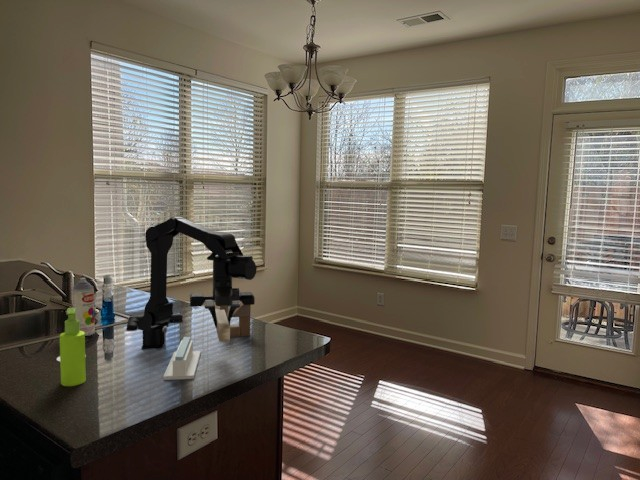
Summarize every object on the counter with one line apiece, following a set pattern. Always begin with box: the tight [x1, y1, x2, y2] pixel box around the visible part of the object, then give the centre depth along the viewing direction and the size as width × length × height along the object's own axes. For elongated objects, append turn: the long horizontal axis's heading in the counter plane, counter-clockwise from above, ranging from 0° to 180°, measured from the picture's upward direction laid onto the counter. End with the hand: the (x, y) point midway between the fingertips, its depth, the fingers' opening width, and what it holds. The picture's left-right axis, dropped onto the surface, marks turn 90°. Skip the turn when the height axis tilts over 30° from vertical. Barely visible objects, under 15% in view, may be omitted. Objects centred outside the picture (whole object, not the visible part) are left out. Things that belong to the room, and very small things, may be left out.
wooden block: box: [219, 301, 252, 338], centre depth 170 cm, size 4×11×18 cm, turn 109°
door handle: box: [126, 313, 183, 332], centre depth 180 cm, size 3×20×16 cm
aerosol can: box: [71, 277, 96, 337], centre depth 166 cm, size 7×7×20 cm
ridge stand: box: [162, 336, 202, 381], centre depth 140 cm, size 8×20×6 cm, turn 9°
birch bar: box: [215, 309, 231, 343], centre depth 143 cm, size 3×20×4 cm, turn 16°
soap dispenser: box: [59, 307, 87, 387], centre depth 125 cm, size 6×7×20 cm
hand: (221, 327), depth 144 cm, fingers closed on birch bar, 3 cm apart
